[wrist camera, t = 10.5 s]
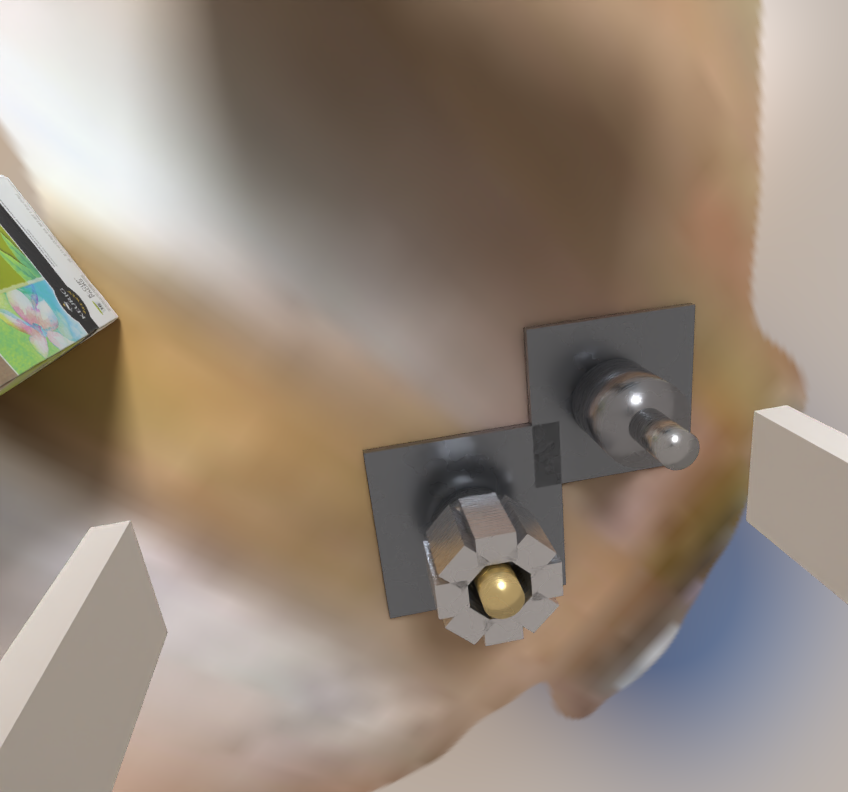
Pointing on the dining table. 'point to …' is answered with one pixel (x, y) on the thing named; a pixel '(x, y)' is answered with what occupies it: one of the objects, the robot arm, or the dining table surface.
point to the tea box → (39, 294)
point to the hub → (457, 506)
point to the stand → (613, 392)
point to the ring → (487, 545)
